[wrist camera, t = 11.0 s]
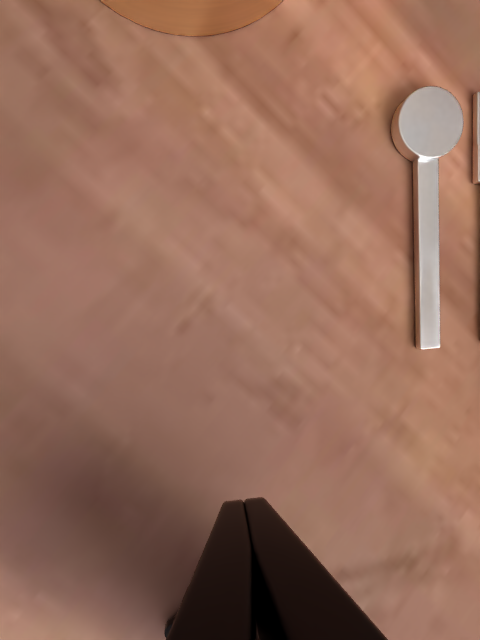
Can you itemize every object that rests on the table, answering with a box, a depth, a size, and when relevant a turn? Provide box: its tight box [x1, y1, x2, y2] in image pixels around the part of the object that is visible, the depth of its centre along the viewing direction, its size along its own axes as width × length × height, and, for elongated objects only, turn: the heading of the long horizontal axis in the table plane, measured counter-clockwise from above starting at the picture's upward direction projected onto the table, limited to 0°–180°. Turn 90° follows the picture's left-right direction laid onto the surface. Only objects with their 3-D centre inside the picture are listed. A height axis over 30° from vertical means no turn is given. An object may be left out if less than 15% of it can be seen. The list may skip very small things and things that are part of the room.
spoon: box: [391, 86, 464, 349], centre depth 19 cm, size 14×4×1 cm, turn 4°
